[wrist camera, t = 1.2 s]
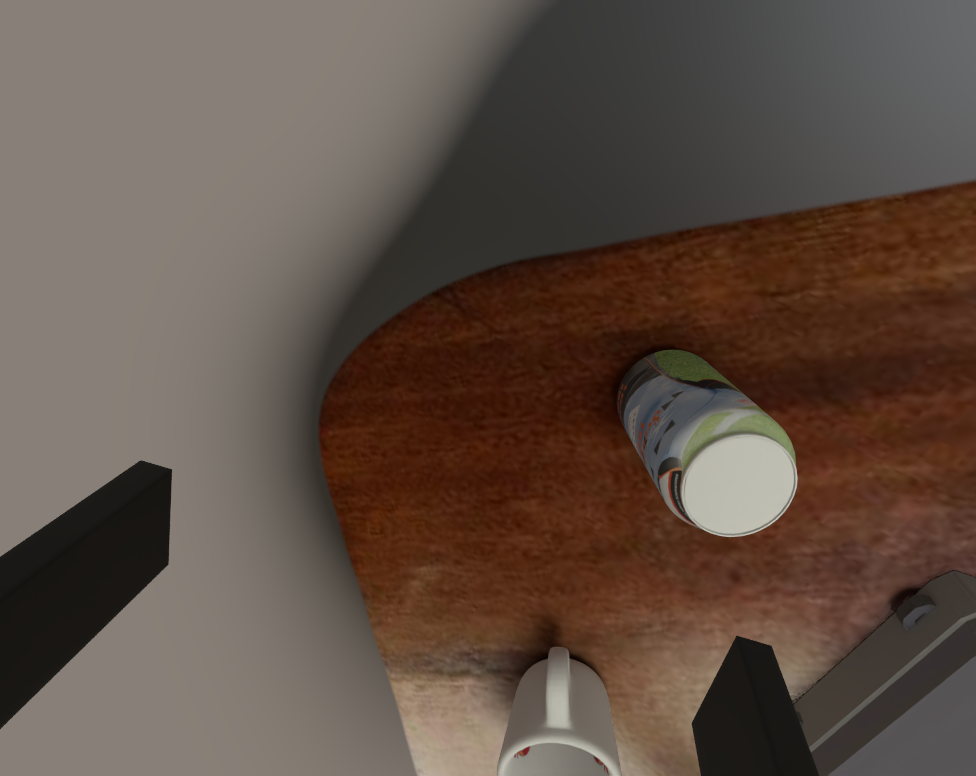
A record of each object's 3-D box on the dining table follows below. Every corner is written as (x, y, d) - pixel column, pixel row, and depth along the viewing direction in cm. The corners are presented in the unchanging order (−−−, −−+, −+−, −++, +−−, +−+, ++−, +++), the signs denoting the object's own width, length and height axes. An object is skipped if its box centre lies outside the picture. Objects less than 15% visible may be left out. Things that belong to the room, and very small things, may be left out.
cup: (504, 608, 45) (489, 699, 37) (617, 613, 43) (623, 708, 36) (513, 719, 48) (500, 822, 41) (616, 727, 47) (622, 834, 40)
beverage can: (603, 360, 37) (611, 449, 26) (729, 325, 35) (796, 404, 24) (630, 450, 39) (649, 570, 28) (751, 421, 37) (823, 537, 26)
